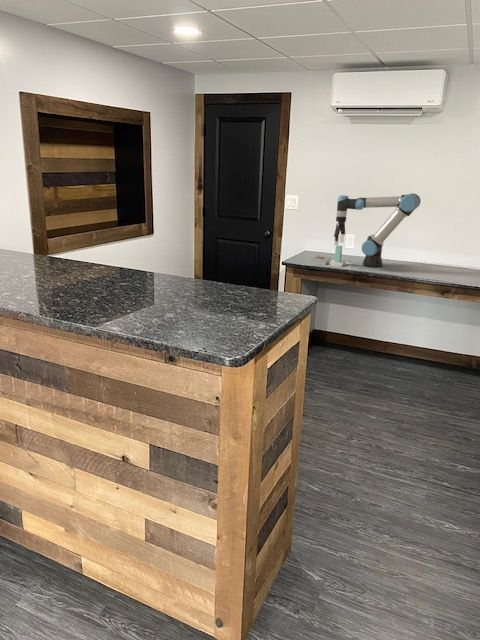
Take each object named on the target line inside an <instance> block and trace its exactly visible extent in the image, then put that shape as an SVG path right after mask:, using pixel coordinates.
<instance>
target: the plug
mask: <svg viewBox="0 0 480 640" xmlns="http://www.w3.org/2000/svg"><path fill="white" fill-rule="evenodd" d="M334 253H335V254H334V260H335V262H338V263H340V262H341V261H342V256H343V255H342V253H343V245H339V244H338V245H335V251H334Z"/></svg>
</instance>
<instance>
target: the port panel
mask: <svg viewBox="0 0 480 640" xmlns="http://www.w3.org/2000/svg"><path fill="white" fill-rule="evenodd" d="M331 261H332V260H331V257H329V256H323V255H322V256H321V255H315V256H313V257H311V259H310V264H313V265H323V266H326V265H329V264H330V262H331Z"/></svg>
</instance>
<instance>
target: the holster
mask: <svg viewBox="0 0 480 640" xmlns="http://www.w3.org/2000/svg"><path fill="white" fill-rule="evenodd" d="M346 264H347V261H345V260H341V262H340V263H338V262H335V259H333V260H330V263H328V266H332V267H344V266H345V265H346Z"/></svg>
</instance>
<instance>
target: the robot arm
mask: <svg viewBox="0 0 480 640" xmlns="http://www.w3.org/2000/svg"><path fill="white" fill-rule="evenodd" d="M420 205H421V197H420V195H418V194H416V193H414V192H413V193H408V194H402V195H400V196H376V197H375V196H374V197H372V196H371V197H358V198H349V195H343V194H341V195H339V196H338V197H337V206H336V211H335V213H336V216H335V217H336V218H335V221H336V222H337V223H336V226H335V230H334V235H333V237H334V246H337V245H339V243H341V244H344V241H345V235H346V222H347V214H348V213H347V212H348V210H356V211H359V210H361V211H362V210H363V209H367V208H369V209H370V208H396V209H395V210H394V211H393V212H392V214H391V215H390V216H389V217H388V218H387V219H386V221H385V222H383V224H382V225H381V226H380V227H379V229H378V230H377V231H376V232H374V234H371V235H368V236H367V238H366V240H365V241H364V242H363V243H362V245H361V252H362V253H363V254H364V255H365V257H364V259H363V262H362V265H363V266H364V267H369V268H382V267H383V258H382V251H383V246H384V241H385V240H386V239H387V238H388V237H389V236H390V235H391V233H392V232H393V231H395V229H396V228H397V227H398V226H399V225H400V224H401V222H403V220H404V219H405V218H406V217H410V216H411V214H413V212H414V211H416V210H417V209H418V208H419V206H420ZM339 235H340V236H339Z"/></svg>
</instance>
